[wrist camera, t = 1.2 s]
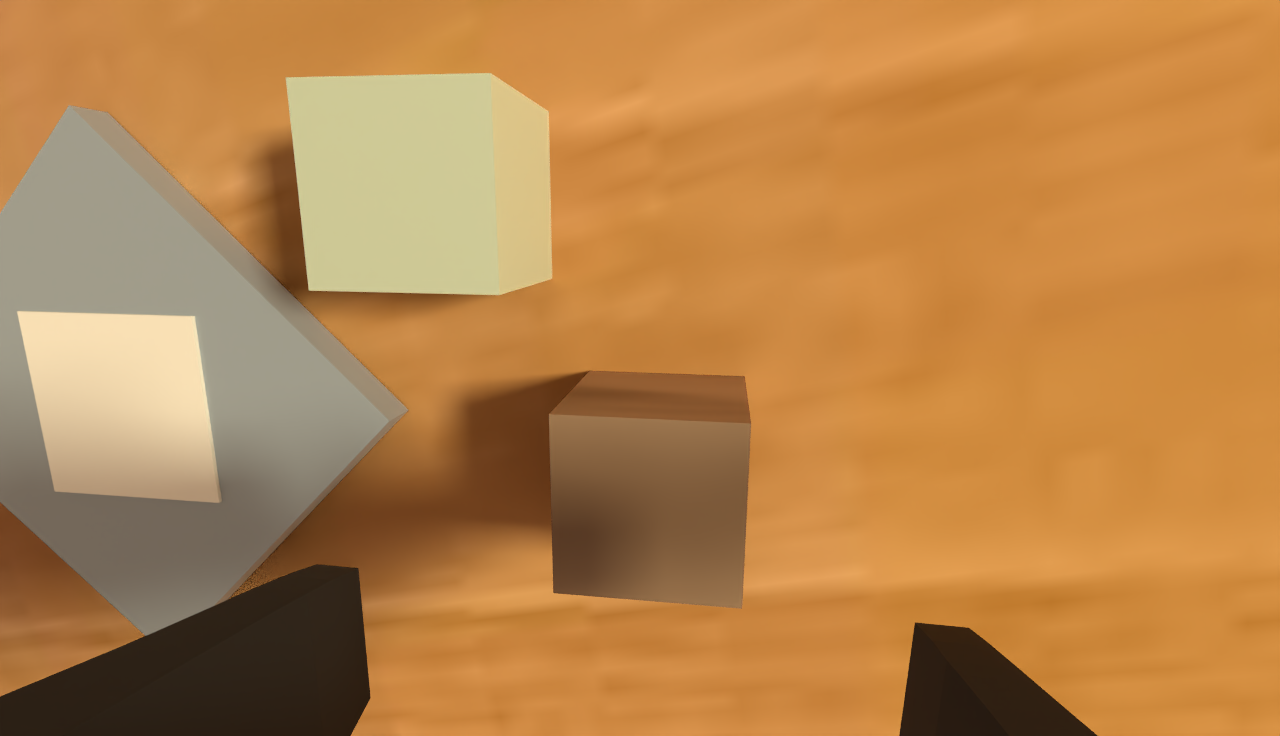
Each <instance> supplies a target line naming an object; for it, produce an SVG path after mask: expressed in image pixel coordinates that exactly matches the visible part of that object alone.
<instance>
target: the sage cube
mask: <svg viewBox="0 0 1280 736" xmlns="http://www.w3.org/2000/svg"><path fill="white" fill-rule="evenodd" d="M286 84H287V93H288V102H289V112H290V121H291V130H292V140H293V149H294V158H295V167H296V177H297V186H298V195H299V205H300V214H301V223H302V232H303V242H304V251H305V260H306V270H307V279H308V288H309V291H347V292H390V293H433V294H476V295H501V294H505V293H508V292H511V291H514V290H518V289H521V288H524V287H527V286H531V285H534V284H537V283H540V282H544V281H547V280H550V279H552V245H551V198H550V151H549V111H547V110H546V109H544V108H543V107H541V106H540V105H538V104H536V103H535V102H533V101H532V100H530V99H529V98H527V97H526V96H524V95H523V94H521V93H520V92H518V91H517V90H515V89H514V88H512V87H511V86H509V85H508V84H506V83H505V82H503V81H502V80H500V79H499V78H497V77H496V76H494V75H493V74H491V73H471V74H425V75H378V76H331V77H286Z"/></svg>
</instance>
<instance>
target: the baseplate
mask: <svg viewBox="0 0 1280 736" xmlns="http://www.w3.org/2000/svg"><path fill="white" fill-rule="evenodd" d="M407 411H408V409H407V408H406V407H405V406H404V405H403V404H402V403H401V402H400V401H399V400H398V399H397V398H396V397H395V396H394V395H393V394H392V393H391V392H390V391H389V390H388V389H387V388H386V387H385V386H384V385H383V384H382V383H381V382H380V381H379V380H378V379H377V378H376V377H375V376H374V375H373V374H371V373H370V372H369V371H368V370H367V369H366V368H365V367H364V366H363V365H362V364H361V363H360V362H359V361H358V360H357V359H356V358H355V357H354V356H353V355H352V354H351V353H350V352H349V351H348V350H347V349H346V348H345V347H344V346H343V345H342V344H341V343H340V342H339V341H338V340H337V339H336V338H335V337H334V336H333V335H332V334H331V333H330V332H329V331H328V330H327V329H326V328H325V327H324V326H323V325H322V324H321V323H320V322H319V321H318V320H317V319H316V318H315V317H314V316H313V315H312V314H311V313H310V312H309V311H308V310H307V309H306V308H305V307H304V306H303V305H302V304H301V303H300V302H299V301H298V300H297V299H296V298H295V297H294V296H293V295H292V294H291V293H290V292H289V291H288V290H287V289H286V288H285V287H284V286H283V285H281V284H280V283H279V282H278V281H277V280H276V279H275V278H274V277H273V276H272V275H271V274H270V273H269V272H268V271H267V270H266V269H265V268H264V267H263V266H262V265H261V264H260V263H259V262H258V261H257V260H256V259H255V258H254V257H253V256H252V255H251V254H250V253H249V252H248V251H247V250H246V249H245V248H244V247H243V246H242V245H241V244H240V243H239V242H238V241H237V240H236V239H235V238H234V237H233V236H232V235H231V234H230V233H229V232H228V231H227V230H226V229H225V228H224V227H223V226H222V225H221V224H220V223H219V222H218V221H217V220H216V219H215V218H214V217H213V216H212V215H211V214H210V213H209V212H208V211H207V210H206V209H205V208H204V207H203V206H202V205H201V204H200V203H199V202H198V201H197V200H196V199H195V198H194V197H193V196H191V195H190V194H189V193H188V192H187V191H186V190H185V189H184V188H183V187H182V186H181V185H180V184H179V183H178V182H177V181H176V180H175V179H174V178H173V177H172V176H171V175H170V174H169V173H168V172H167V171H166V170H165V169H164V168H163V167H162V166H161V165H160V164H159V163H158V162H157V161H156V160H155V159H154V158H153V157H152V156H151V155H150V154H149V153H148V152H147V151H146V150H145V149H144V148H143V147H142V146H141V145H140V144H139V143H138V142H137V141H136V140H135V139H134V138H133V137H132V136H131V135H130V134H129V133H128V132H127V131H126V130H125V129H124V128H123V127H122V126H121V125H120V124H119V123H118V122H117V121H116V120H115V119H114V118H113V117H112V116H111V115H110V114H109V113H108V112H102V111H97V110H92V109H86V108H81V107H76V106H70V105H69V106H68V108H67V109H66V111H65V113H64V114H63V116H62V117H61V119H60V120H59V122H58V124H57V125H56V127H55V128H54V130H53V131H52V133H51V135H50V136H49V138H48V139H47V141H46V142H45V144H44V146H43V147H42V149H41V150H40V152H39V153H38V155H37V157H36V158H35V160H34V161H33V163H32V164H31V166H30V168H29V169H28V171H27V172H26V174H25V175H24V177H23V179H22V180H21V182H20V183H19V185H18V186H17V188H16V190H15V191H14V193H13V194H12V196H11V197H10V199H9V201H8V202H7V204H6V205H5V207H4V208H3V210H2V211H1V213H0V502H1V503H2V504H3V505H4V506H5V507H6V508H7V509H8V510H9V511H10V512H12V513H13V514H14V515H15V516H16V517H17V518H18V519H19V520H20V521H21V522H22V523H23V524H25V525H26V526H27V527H28V528H29V529H30V530H31V531H32V532H33V533H34V534H35V535H37V536H38V537H39V538H40V539H41V540H42V541H43V542H44V543H45V544H46V545H47V546H48V547H50V548H51V549H52V550H53V551H54V552H55V553H56V554H57V555H58V556H59V557H60V558H62V559H63V560H64V561H65V562H66V563H67V564H68V565H69V566H70V567H71V568H72V569H74V570H75V571H76V572H77V573H78V574H79V575H80V576H81V577H82V578H83V579H84V580H85V581H87V582H88V583H89V584H90V585H91V586H92V587H93V588H94V589H95V590H96V591H97V592H99V593H100V594H101V595H102V596H103V597H104V598H105V599H106V600H107V601H108V602H109V603H110V604H112V605H113V606H114V607H115V608H116V609H117V610H118V611H119V612H120V613H121V614H122V615H124V616H125V617H126V618H127V619H128V620H129V621H130V622H131V623H132V624H133V625H134V626H135V627H137V628H138V629H139V630H140V631H141V632H142V633H143V634H144V635H145V636H147V635H149V634H151V633H153V632H156V631H158V630H160V629H163V628H165V627H167V626H169V625H172V624H174V623H176V622H178V621H181V620H183V619H185V618H188V617H190V616H192V615H194V614H197V613H199V612H201V611H203V610H206V609H208V608H210V607H213V606H215V605H217V604H219V603H222V602H224V601H226V600H228V599H229V598H230V597H231V595H232V594H233V593H234V592H235V591H236V590H237V589H238V588H239V587H240V586H241V585H242V584H243V583H244V582H245V581H246V580H247V579H248V578H249V577H250V576H251V575H252V573H253V572H254V571H255V570H256V569H257V568H258V567H259V566H260V565H261V564H262V563H263V562H264V561H265V560H266V559H267V558H268V557H269V556H270V555H271V554H272V553H273V551H274V550H275V549H276V548H277V547H278V546H279V545H280V544H281V543H282V542H283V541H284V540H285V539H286V538H287V537H288V536H289V535H290V534H291V533H292V532H293V531H294V529H295V528H296V527H297V526H298V525H299V524H300V523H301V522H302V521H303V520H304V519H305V518H306V517H307V516H308V515H309V514H310V513H311V512H312V511H313V510H314V509H315V507H316V506H317V505H318V504H319V503H320V502H321V501H322V500H323V499H324V498H325V497H326V496H327V495H328V494H329V493H330V492H331V491H332V490H333V489H334V488H335V487H336V485H337V484H338V483H339V482H340V481H341V480H342V479H343V478H344V477H345V476H346V475H347V474H348V473H349V472H350V471H351V470H352V469H353V468H354V467H355V466H356V465H357V463H358V462H359V461H360V460H361V459H362V458H363V457H364V456H365V455H366V454H367V453H368V452H369V451H370V450H371V449H372V448H373V447H374V446H375V445H376V444H377V443H378V441H379V440H380V439H381V438H382V437H383V436H384V435H385V434H386V433H387V432H388V431H389V430H390V429H391V428H392V427H393V426H394V425H395V424H396V423H397V422H398V421H399V419H400V418H401V417H402V416H403V415H404V414H405V413H406V412H407Z"/></svg>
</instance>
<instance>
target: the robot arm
mask: <svg viewBox="0 0 1280 736" xmlns="http://www.w3.org/2000/svg"><path fill="white" fill-rule="evenodd" d="M369 700H370V688H369V677H368V666H367V656H366V645H365V634H364V624H363V613H362V603H361V592H360V581H359V571H358V568H349V567H339V566H328V565H318V564H317V565H314V566H311V567H308V568H305V569H302V570H299V571H296V572H293V573H291V574H288V575H285V576H283V577H280V578H278V579H275V580H273V581H270V582H268V583H266V584H263V585H261V586H259V587H256V588H254V589H252V590H249V591H247V592H245V593H242V594H240V595H238V596H235V597H233V598H231V599H228V600H226V601H224V602H222V603H219V604H217V605H215V606H213V607H210V608H208V609H206V610H203V611H201V612H199V613H197V614H194V615H192V616H190V617H188V618H185V619H183V620H181V621H178V622H176V623H174V624H172V625H169V626H167V627H165V628H163V629H160V630H158V631H156V632H153V633H151V634H149V635H147V636H144V637H142V638H140V639H138V640H135V641H133V642H131V643H128V644H126V645H124V646H121V647H119V648H117V649H114V650H112V651H109V652H107V653H105V654H102V655H100V656H97V657H95V658H93V659H90V660H88V661H85V662H83V663H80V664H78V665H76V666H73V667H71V668H68V669H66V670H63V671H61V672H59V673H56V674H54V675H51V676H49V677H47V678H44V679H42V680H39V681H37V682H34V683H32V684H30V685H27V686H25V687H22V688H20V689H18V690H15V691H13V692H10V693H8V694H5V695H3V696H1V697H0V736H351V734H352V732H353V730H354V728H355V726H356V724H357V722H358V720H359V719H360V717H361V715H362V713H363V711H364V709H365V707H366V705H367V703H368V701H369ZM900 736H1097V735H1096V734H1095V733H1094V732H1093V731H1091V730H1090V729H1089V728H1088V727H1087V726H1085V725H1084V724H1083V723H1082V722H1081V721H1079V720H1078V719H1077V718H1076V717H1075V716H1074V715H1072V714H1071V713H1070V712H1069V711H1068V710H1067V709H1065V708H1064V707H1063V706H1062V705H1061V704H1059V703H1058V702H1057V701H1056V700H1055V699H1054V698H1052V697H1051V696H1050V695H1049V694H1048V693H1047V692H1045V691H1044V690H1043V689H1042V688H1041V687H1040V686H1038V685H1037V684H1036V683H1035V682H1034V681H1033V680H1031V679H1030V678H1029V677H1028V676H1027V675H1026V674H1024V673H1023V672H1022V671H1021V670H1020V669H1019V668H1017V667H1016V666H1015V665H1014V664H1013V663H1011V662H1010V661H1009V660H1008V659H1007V658H1006V657H1004V656H1003V655H1002V654H1001V653H1000V652H998V651H997V650H996V649H995V648H994V647H992V646H991V645H990V644H989V643H987V642H986V641H985V640H984V639H983V638H981V637H980V636H979V635H977V634H976V633H975V632H973V631H972V630H971V629H970V628H965V627H955V626H944V625H934V624H924V623H915V627H914V634H913V642H912V649H911V656H910V663H909V671H908V678H907V685H906V692H905V700H904V707H903V714H902V721H901V729H900Z"/></svg>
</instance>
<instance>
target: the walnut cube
mask: <svg viewBox="0 0 1280 736" xmlns="http://www.w3.org/2000/svg"><path fill="white" fill-rule="evenodd" d="M750 433H751V420H750V413H749V405H748V398H747V391H746V383H745V376H718V375H691V374H663V373H636V372H608V371H589V372H588V373H587V374H586V375H585V376H584V377H583V378H582V379H581V380H580V381H579V383H578V384H577V385H576V386H575V387H574V388H573V389H572V390H571V391H570V392H569V393H568V394H567V395H566V396H565V398H564V399H563V400H562V401H561V402H560V403H559V404H558V405H557V406H556V407H555V408H554V409H553V410H552V411H551V412H550V414H549V440H550V479H551V517H552V555H553V593H560V594H572V595H584V596H596V597H608V598H620V599H632V600H644V601H656V602H669V603H681V604H693V605H705V606H717V607H729V608H741V609H742V599H743V578H744V558H745V537H746V516H747V495H748V475H749V454H750Z"/></svg>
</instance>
